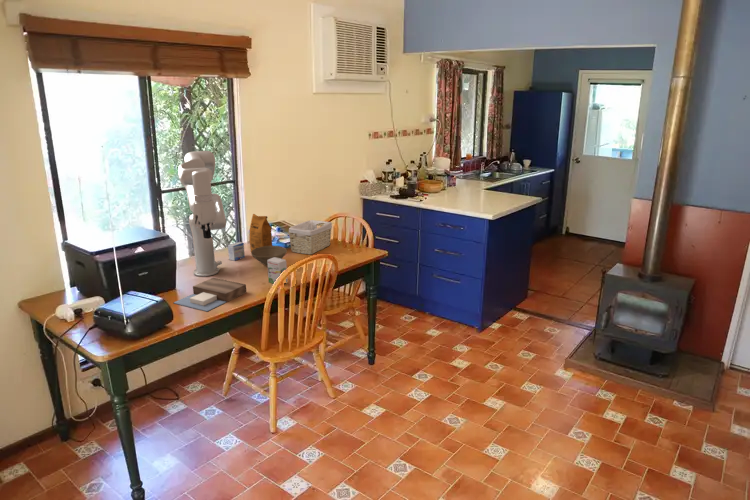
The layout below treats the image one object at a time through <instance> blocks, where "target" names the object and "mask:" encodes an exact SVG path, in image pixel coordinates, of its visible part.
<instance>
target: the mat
mask: <svg viewBox="0 0 750 500" xmlns="http://www.w3.org/2000/svg"><path fill="white" fill-rule="evenodd" d="M193 296H196V294H194V293H192V294H190V295H187V296H185V297H183V298H180V299H179V300H176V301H174V302H173V304H175V305H178V306H182V307H187V308H191V309H194V310H199V311H201V312H202V311H203V312H206V313H208V312H210V311H212V310H213V309H216V308H218V307H220V306H222V305H224V304H225V303H227V302H226V301H221V300H215V301H213V302H210V303H208V304H206V305H204V306H203V305H199V304H195V303H191V302H190V298H191V297H193Z"/></svg>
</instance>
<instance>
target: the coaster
mask: <svg viewBox="0 0 750 500" xmlns="http://www.w3.org/2000/svg"><path fill="white" fill-rule="evenodd" d="M215 300H217V295H213V294H209V293H205V292H203V293H200V294H198V295H196V296H193V297H191V298H190V302H191V303H195V304H199V305H203V306H204V305H206V304H208V303H210V302H213V301H215Z"/></svg>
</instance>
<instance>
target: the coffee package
mask: <svg viewBox="0 0 750 500" xmlns="http://www.w3.org/2000/svg"><path fill="white" fill-rule="evenodd" d="M268 219H269V218H268V216H267V215H256V214H255V213H253V214H252V217H251V221H250V225H249V245H250V247H249V248H250V253H251V252H252V250H254V249H256V248H259V247H263V246H273V235H272V234H273V233H272V226H271V224H270V222H269V221H268Z"/></svg>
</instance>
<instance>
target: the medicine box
mask: <svg viewBox="0 0 750 500" xmlns="http://www.w3.org/2000/svg"><path fill="white" fill-rule="evenodd" d="M244 243H245V242H241V241H237V242H234V243H232V244H228V245H227V253H228V260H230V261H235V262H236V261H239V260H242V259H243V258H245V256H246V253H245V246H244V245H245V244H244Z"/></svg>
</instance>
